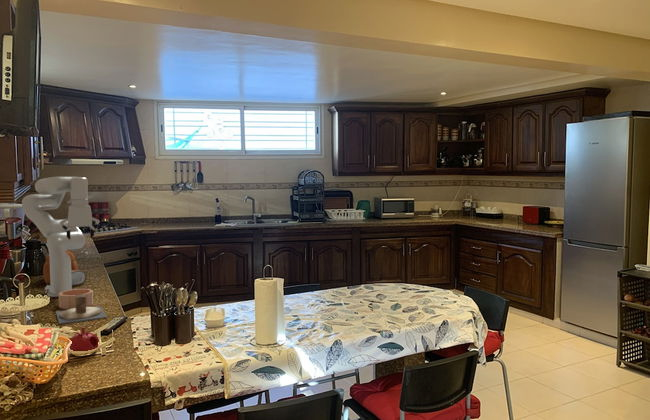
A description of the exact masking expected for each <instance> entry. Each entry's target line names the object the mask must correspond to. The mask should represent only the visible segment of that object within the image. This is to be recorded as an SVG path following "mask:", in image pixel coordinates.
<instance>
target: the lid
mask: <svg viewBox="0 0 650 420" xmlns="http://www.w3.org/2000/svg"><path fill="white" fill-rule="evenodd" d="M75 305H76V308H72V309H65V311H63V310H62V311H63V312H61V313H60V317H61V318H63V319H84V318H89V317H93V316H96V315H99V314H100V313H101V309H100V308H97V307H95V306H88V307H86V296H85V294H81V295H75Z"/></svg>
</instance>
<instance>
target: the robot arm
mask: <svg viewBox="0 0 650 420" xmlns="http://www.w3.org/2000/svg"><path fill="white" fill-rule="evenodd" d="M34 189H35V191H36V192H37V193H35V194H28V195H26V196H24V197H22V200H21V208H22V210H23V212H24V215H25V216H26V217H27V218H28V219H29V220H30V221H31V222H32V223H33V224H34V225H35V226H36V227H37V229H38V230H39V232H40V233H41V234H42V236H43V237H45V239H46V245H47V250H48V254H49V257H50V284H48V285H46V286H44V290H46V291H48V292H47V293H46V295H47V297H51V298H52V297H53V298H57V297H58V298H59V293H60V292H63V291H66V290H72V289H73V288H72V287H73V286H72V277H71V258H70V256H69V255H68V254H67V253H66V251H74V250H79V249H82V248H84V247H85V245H86V237H85V235H84V233H83V232H82V231H81V229H80V228H81V227H89V228H90V229H89V235H90V236H89V238H90V239H93V237H94V236H95V229H96V228H97V227H99V224H100V222H101V221H100V219H97V218H95V217H93V214H92V209H91V205H89V183H88V178H87V177H82V176H52V177H51V176H50V177H45V178H41V179H38V180H37V181H36V182H35V184H34ZM66 193H70V199H69V200H67V202H66V203H67V204H69V206H68V213H67V217H66V218H63V219H55V218H53V216H52V215H51V214H50V213H48V212H47V211H46V210H56V209H58V208H60V206H61V205H62V202H63V199H64V197H65V196H66ZM93 222H95V224H93Z"/></svg>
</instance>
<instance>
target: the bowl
mask: <svg viewBox="0 0 650 420" xmlns="http://www.w3.org/2000/svg"><path fill="white" fill-rule="evenodd" d="M81 294H85V296H86V307H91V306H92V305H93V304H94V290H93V289H92V288H91V289H90V288H72V290H66V291H63V292H60V293H59V297H58V308H60V309H63V310H64V309H65V310H68V309H72V308H76V305H75V295H81Z"/></svg>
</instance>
